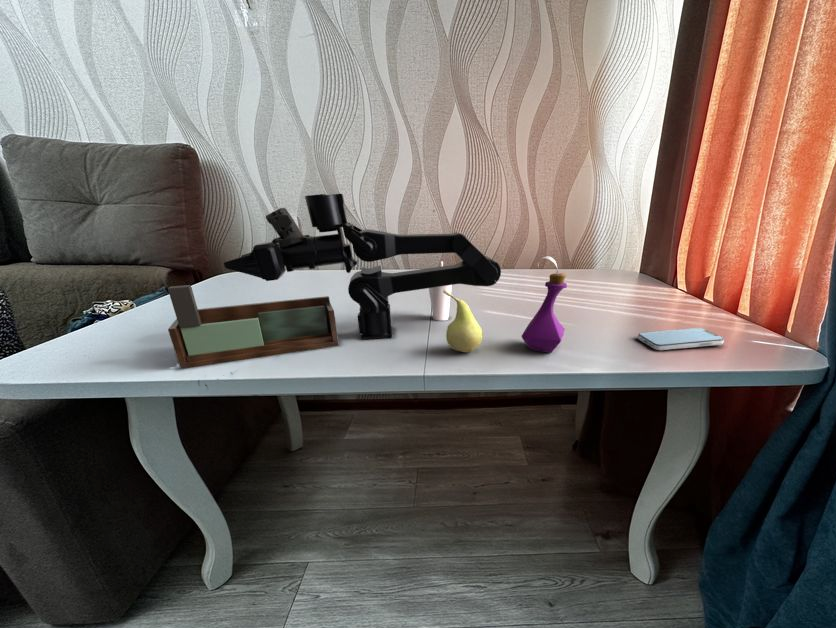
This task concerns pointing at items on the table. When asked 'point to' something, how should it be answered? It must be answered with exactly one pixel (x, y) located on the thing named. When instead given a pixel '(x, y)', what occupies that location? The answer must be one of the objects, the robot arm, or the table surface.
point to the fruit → (463, 329)
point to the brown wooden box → (267, 330)
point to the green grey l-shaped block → (211, 327)
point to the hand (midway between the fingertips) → (233, 261)
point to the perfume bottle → (546, 318)
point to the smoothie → (440, 301)
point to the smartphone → (680, 339)
